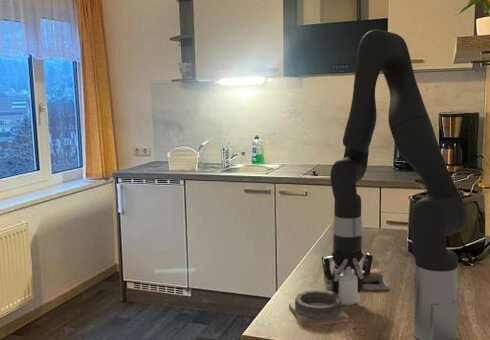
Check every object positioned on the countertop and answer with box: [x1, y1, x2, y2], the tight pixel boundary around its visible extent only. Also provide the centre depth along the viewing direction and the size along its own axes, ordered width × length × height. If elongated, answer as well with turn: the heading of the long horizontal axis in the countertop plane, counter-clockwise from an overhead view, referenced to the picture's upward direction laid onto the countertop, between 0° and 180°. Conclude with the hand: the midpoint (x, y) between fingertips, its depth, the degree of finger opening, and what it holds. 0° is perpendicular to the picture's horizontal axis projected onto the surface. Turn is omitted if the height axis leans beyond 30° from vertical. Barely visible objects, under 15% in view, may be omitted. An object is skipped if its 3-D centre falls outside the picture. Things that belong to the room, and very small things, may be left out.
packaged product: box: [323, 266, 389, 291], centre depth 158 cm, size 18×5×10 cm
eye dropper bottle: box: [337, 266, 359, 306], centre depth 144 cm, size 4×6×12 cm
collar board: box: [288, 289, 350, 328], centre depth 137 cm, size 12×12×4 cm
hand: (346, 292), depth 144 cm, fingers open, 5 cm apart
